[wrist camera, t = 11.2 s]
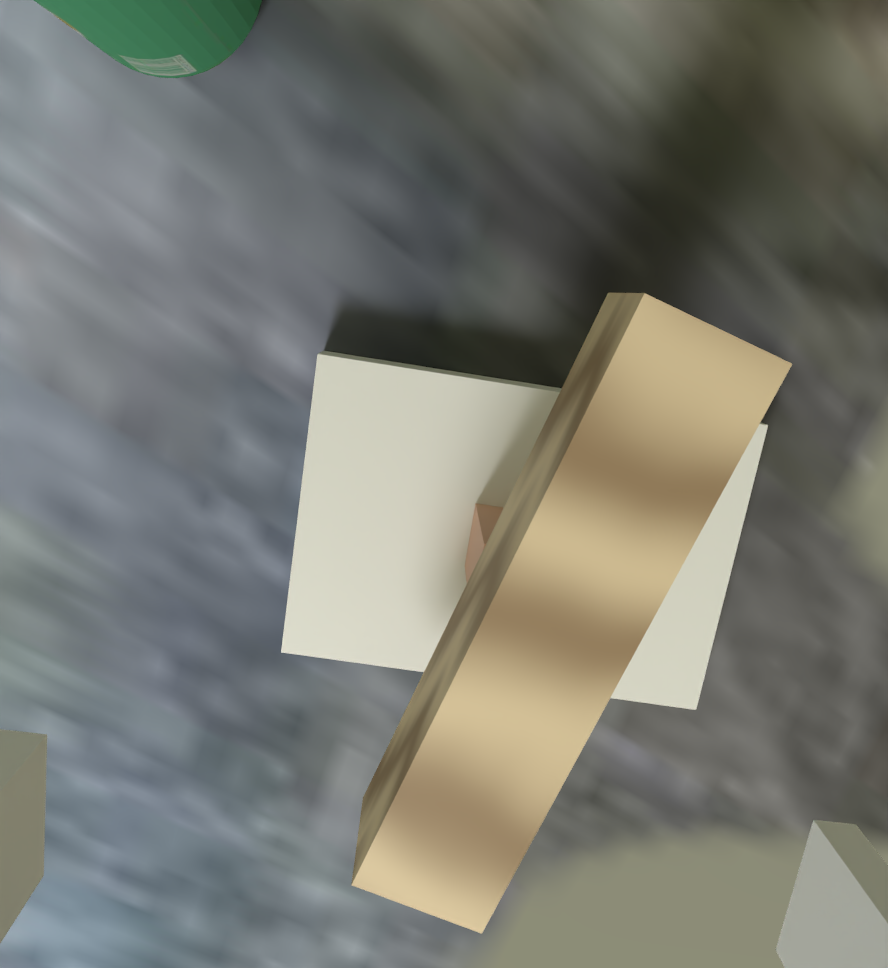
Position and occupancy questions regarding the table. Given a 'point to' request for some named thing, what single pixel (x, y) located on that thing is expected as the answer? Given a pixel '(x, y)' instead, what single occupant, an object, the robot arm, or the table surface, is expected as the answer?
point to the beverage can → (161, 31)
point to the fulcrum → (455, 521)
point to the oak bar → (559, 602)
